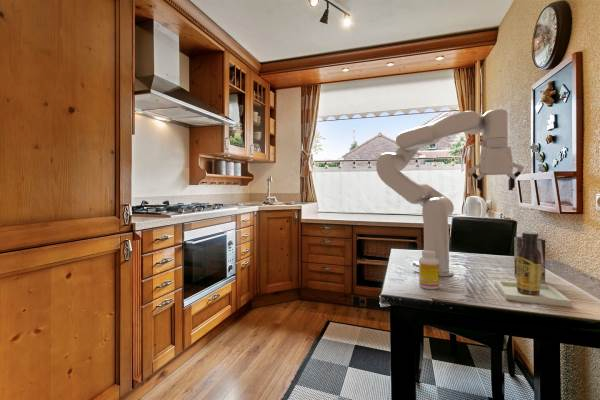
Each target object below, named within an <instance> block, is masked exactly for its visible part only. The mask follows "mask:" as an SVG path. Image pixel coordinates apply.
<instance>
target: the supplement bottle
mask: <svg viewBox="0 0 600 400" xmlns="http://www.w3.org/2000/svg"><path fill="white" fill-rule="evenodd" d="M421 255H422V257H420V258H419V260H418V262H419V267H418V284H419V286H420V288H422V289H426V290H437V289H439V288H440V276H439V261H438V259H436V258H435V256H436V252H435V251H430V250H424V249H423V250H422V251H421Z"/></svg>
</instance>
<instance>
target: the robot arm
mask: <svg viewBox="0 0 600 400" xmlns="http://www.w3.org/2000/svg"><path fill="white" fill-rule="evenodd" d="M508 116H509V115H508V111H507V110H506V109H500V108H499V109H491V110H488V111H486V112H485V113H484V114H479V113H478V112H476V111H473V110H466V111H461V112H458V113H454V114H451V115H448V116H447V115H446V116H445V117H442V118H440V119H438V120H436V121H434V122H431V123H429V124H425V125H422V126H421V125H420V126H417V127H414V128H410V129H407V130H404V131H401V132H399V133H398V134H397V136H396V138H395V143H396V146H397V149H396V151H395V152H383V153H381V154H380V155H379V156H378V158H377V160H376V163H375V164H376V165H375V166H376V168H375V169H376V173H377V175H378V177H379V178H380V180H381V181H382V182H383V183H384V184H385V185H386V186H387V187H388V188H390V189H391V190H392V191H394V192H395V193H396V194H398V195H399V196H401V197H402V198H403V199H404V200H406V201H407V202H408V203H410V204H412V205H420V206H421V207H422V212H421V213H422V214H421V215H422V221H423V245H424V246H423V251H424V250H430V251H435V252H436V256H435V258H436V259H438V261H439V277H451V276H453V275H454V270H453V269H451V268H450V231H449V230H450V229H449V228H450V227H449V219H448V218H449V217H451V216H452V214H453V212H454V209H455V208H454V204H453V202H452V201H451V200H450V199H449V198H448V197H447V196H445V195H444V194H442V193H441V192H440V191H438V190H437V189H435V188H434V187H433V186H430V185H429V184H428V183H427V184H426V183H423V182H417V181H416V180H414V179H412V178H410V177H409V176H408V175H407V174H405V173H403V172H402V171H403V170H404V169H405V168H406V166H408V164H409V163H410V162H411V161H412V159H413V158H414V157H415V156H416V155H417V153H418V152H419V151H420V148H423V147H427V146H430V145H434V144H437V143H439V142H440V141H441V140H442V139H444V138H446V137H448V136H453V135H456V134H460V133H466V134H467V135H478V134H481V133H483V135H482V136H483V137H482V139H483V140H482V141H480V142H479V143H478V146H481V147H482V148H481V151H480V156H479V163H478V164H477V165H474V166H472V167H471V168H468V172H469V174H470V175H471V177H472V178H474V179H475V180H476V189H478V191H480V192H482V191H483V180H482V178H483V177H484V176H495V175H496V176H500V175H501V176H502V175H506V176H507V177H509V179H508V191H513V190H514V189H515V188H516V186H515V185H516V184H515V182H516V180H515V179H517V178H518V177H519V176H520V175H521V174H522V172H523V171H524V165H520V164H517V163H515V162H513V161H514V160H513V153H512V148H511V146H508V137H509V136H508V133H509V132H508V121H509V120H508ZM514 168H515V169H517V170H516V172H515V173H513V172H514ZM477 169H478V172H479V174H476V172H475V170H477ZM412 266H414V267H415V268H419V261H415V260H414V261H412Z"/></svg>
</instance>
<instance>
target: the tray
mask: <svg viewBox="0 0 600 400" xmlns="http://www.w3.org/2000/svg"><path fill="white" fill-rule="evenodd" d="M516 283H517V281H508V280H498V279H497V280H496V279H495V280H494V286H495V288H496V289H497V290H498V291H499V293H500V295H502V297H503V299H505V301H511V302H519V303H530V304H538V305H539V304H540V305H549V306H559V307H568V308H569V307H570V308H571V307H572V301H571V299H570V298H568V297H567V296H565V294H563V293H561V292H560V291H559V290H557V289H556V288H555V287H554V286H552V285H551V284H546V283H545V284H540V290H539V291H540V293H539V294H538V295H527V294H523V293H520V292H518V290H517V285H516Z"/></svg>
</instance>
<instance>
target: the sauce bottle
mask: <svg viewBox="0 0 600 400" xmlns="http://www.w3.org/2000/svg"><path fill="white" fill-rule="evenodd" d="M521 237H523V244H522V247H521V249H520V252H519V254H518V256H517V278H516V282H517V283H516V285H517V290H518V292H520V293H523V294H527V295H538V294H539V293H540V291H539V290H540V281H541V253H540V252H539V250H538V248H537V238H539V233H538V232H532V231H523V232H522V235H521Z"/></svg>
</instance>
